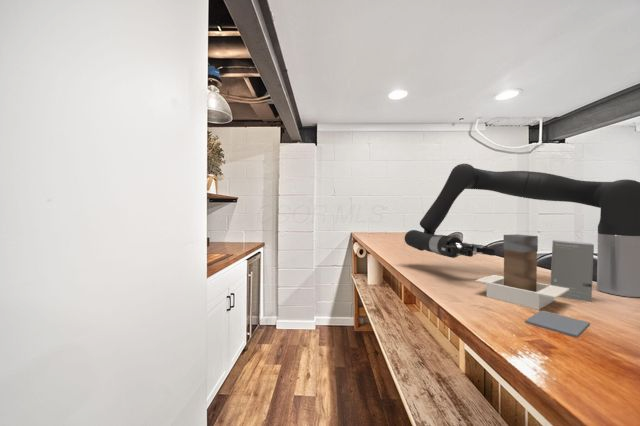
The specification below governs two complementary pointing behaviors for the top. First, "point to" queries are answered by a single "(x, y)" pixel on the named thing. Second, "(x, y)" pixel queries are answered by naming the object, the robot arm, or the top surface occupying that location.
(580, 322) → the mat
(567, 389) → the top surface
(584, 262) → the skincare box
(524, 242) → the capped block
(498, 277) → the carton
